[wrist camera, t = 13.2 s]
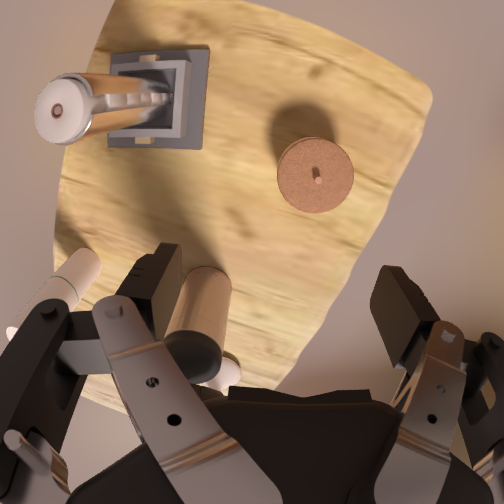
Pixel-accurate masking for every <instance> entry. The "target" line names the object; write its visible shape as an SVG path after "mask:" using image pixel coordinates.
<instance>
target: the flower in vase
mask: <svg viewBox="0 0 504 504" xmlns="http://www.w3.org/2000/svg"><path fill="white" fill-rule="evenodd" d="M240 377H241V369H240V367H239V366H238V365H237V364H236V363H235V362H234V361H232V360H231V359H229V358H226V357H223V356H222V363H221V368H220V371H219V373H218V374H217V375H216V376H215V377H214V378H213V379H211V380H209V381H207V382H204V383H203V384H204V385H206V386H207V387H209V388H212V389H215V390H218V391H220V390H221V389H224V388H228V387H229V386H233V385H234V384H236V383H237V382H238V381H239V379H240Z"/></svg>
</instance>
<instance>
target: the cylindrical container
mask: <svg viewBox="0 0 504 504" xmlns="http://www.w3.org/2000/svg"><path fill="white" fill-rule="evenodd" d="M101 270H102V264H101V261H100V259H99V257H98V256H97V255H96V254H95V253H94V252H93V251H92V250H90V249H88V248H79V249H77V250H76V251H75V252H74V253H73V254H72V255H71V256H70V257H69V258H68V259H67V261H66V262H65V263H64V264H63V265H62V266H61V267H60V268H59V269H58V270H57V271H56V272H55V273H54V274H53V275H52V276H51V278H50V279H49V280H48V281H47V282H46V283H45V284H44V286H42V288H41V289H40V290H39V291H38V292H37V293H36V294H35V295H34V297H33V298H32V299H31V300H30V301H29V302H28V304H27V305H26V306H25V307H24V308H23V310H22V311H21V312H20V313H19V314H18V316H17V317H16V318H15V319H14V321H13V322H12V323H11V324H10V326H9V327H8V328H7V332H6V333H7V336H8V339H9V341H11V339H12V338H13V336H14V335H15V333H16V332H17V330H18V329H19V327H20V326H21V324H22V323H23V322H24V320H25V319H26V317H27V316H28V315H29V313H30V312H31V310H32V309H33V308H34V307H35V306H36V305H37V304H38V303H40V302H42V301H44V300H47V299H52V298H56V299H61V300H64V301H65V302H66V303H67V304H68V307H69V310H70V312H72V311H73V310H74V308H75V307H76V305H77V304H78V303H79V301H80V300H81V299H82V297H83V296H84V294H85V293H86V292H87V290H88V289H89V288H90V286H91V285H92V284H93V282H94V281H95V280H96V278H97V277H98V276H99V274H100V273H101Z"/></svg>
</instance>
